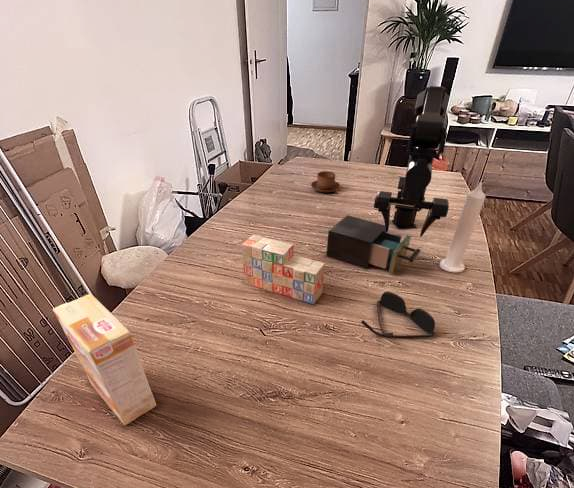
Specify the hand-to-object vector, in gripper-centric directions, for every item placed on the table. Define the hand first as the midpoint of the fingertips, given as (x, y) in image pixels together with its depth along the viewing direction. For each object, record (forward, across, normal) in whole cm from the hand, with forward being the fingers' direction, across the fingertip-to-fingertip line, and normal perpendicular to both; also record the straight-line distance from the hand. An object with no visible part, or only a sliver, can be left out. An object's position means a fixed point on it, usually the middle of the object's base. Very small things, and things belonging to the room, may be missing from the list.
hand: (403, 233), depth 105 cm
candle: (+11, -16, -5) cm, 20 cm away
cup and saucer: (+11, +34, -53) cm, 64 cm away
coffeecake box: (+11, +48, +66) cm, 83 cm away
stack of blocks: (+11, +29, +21) cm, 37 cm away
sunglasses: (+11, -1, +30) cm, 32 cm away
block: (+9, +3, -1) cm, 9 cm away
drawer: (+10, +3, -1) cm, 10 cm away
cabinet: (+11, +13, -4) cm, 17 cm away
